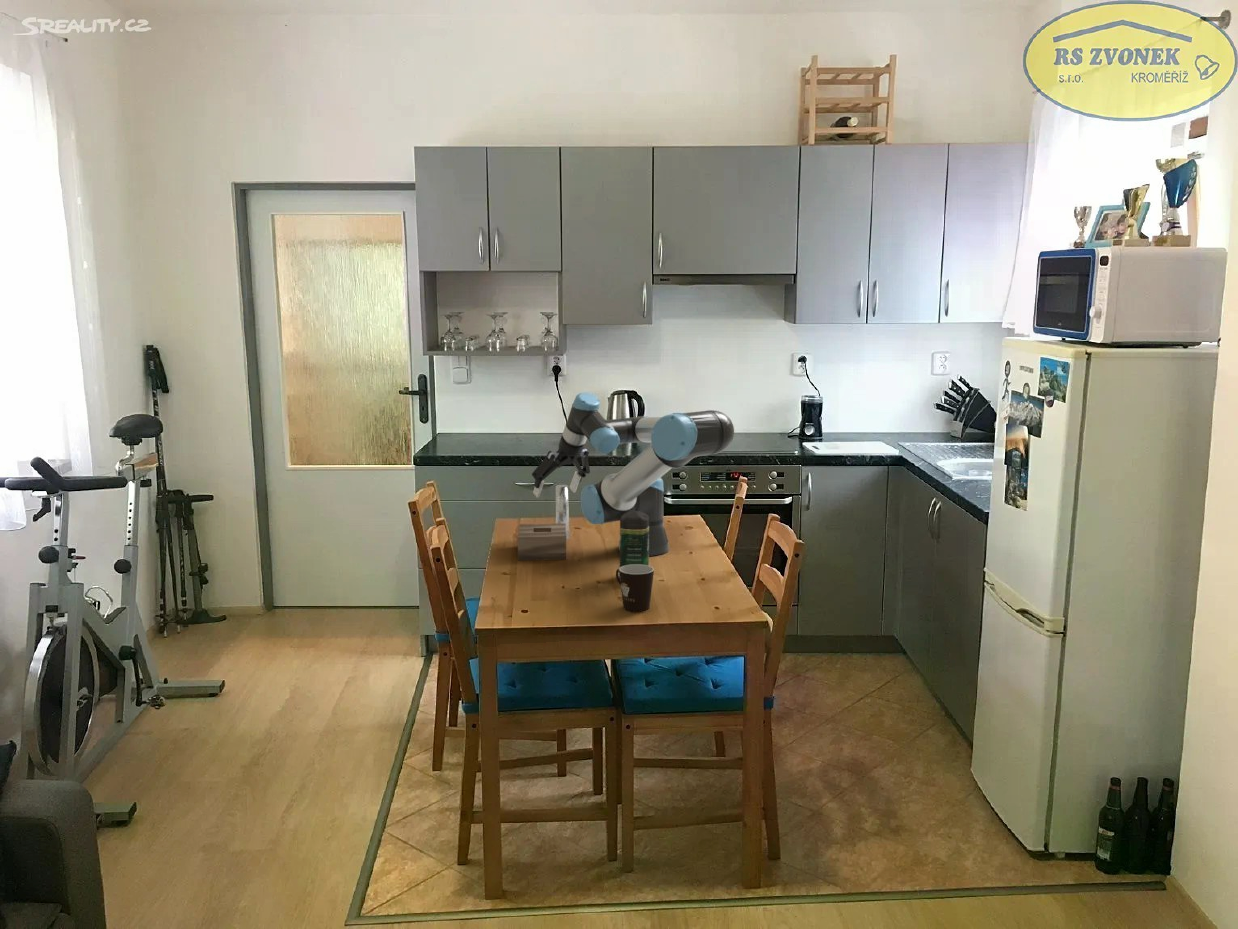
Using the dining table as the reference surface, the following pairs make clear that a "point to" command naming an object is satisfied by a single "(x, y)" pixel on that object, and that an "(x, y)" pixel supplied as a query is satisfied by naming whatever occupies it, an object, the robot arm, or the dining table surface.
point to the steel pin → (562, 506)
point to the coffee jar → (634, 538)
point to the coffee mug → (635, 586)
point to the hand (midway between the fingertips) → (554, 492)
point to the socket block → (542, 541)
